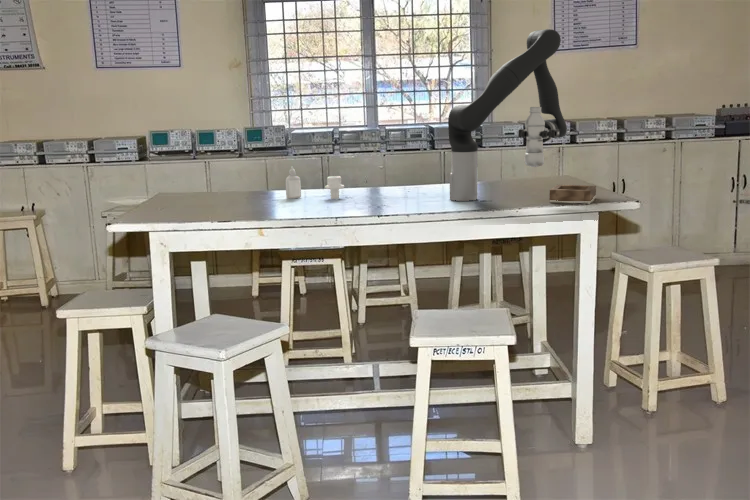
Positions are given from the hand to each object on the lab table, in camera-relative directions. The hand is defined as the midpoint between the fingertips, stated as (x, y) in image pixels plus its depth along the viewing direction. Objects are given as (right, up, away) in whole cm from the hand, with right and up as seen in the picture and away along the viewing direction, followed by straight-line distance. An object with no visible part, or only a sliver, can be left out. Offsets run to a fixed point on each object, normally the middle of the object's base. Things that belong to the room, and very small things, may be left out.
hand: (533, 134), depth 248 cm
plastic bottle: (+1, -11, +5) cm, 11 cm away
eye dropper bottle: (-84, -19, +34) cm, 92 cm away
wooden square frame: (+16, -22, +9) cm, 28 cm away
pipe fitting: (-68, -19, +30) cm, 77 cm away
